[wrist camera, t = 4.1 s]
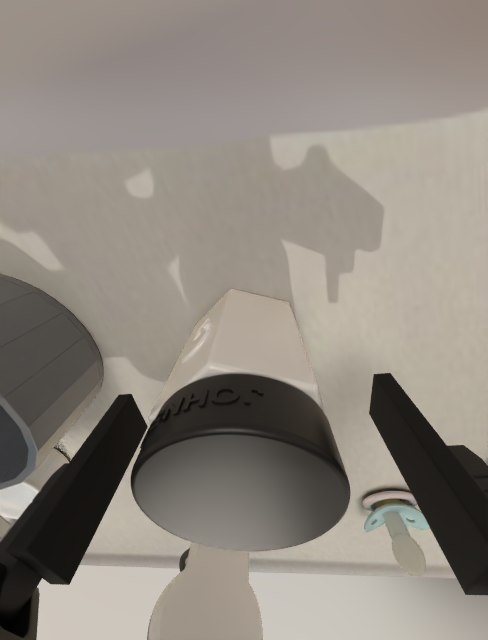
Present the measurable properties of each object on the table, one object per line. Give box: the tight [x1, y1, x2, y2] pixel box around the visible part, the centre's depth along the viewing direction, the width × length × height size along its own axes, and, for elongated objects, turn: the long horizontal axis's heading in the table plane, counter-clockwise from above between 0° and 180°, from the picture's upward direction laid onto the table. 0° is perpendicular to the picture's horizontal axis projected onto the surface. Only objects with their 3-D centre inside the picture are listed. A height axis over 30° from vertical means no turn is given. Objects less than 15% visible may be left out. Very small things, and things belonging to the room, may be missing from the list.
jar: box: [131, 289, 350, 551], centre depth 14 cm, size 9×8×12 cm
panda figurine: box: [147, 542, 263, 640], centre depth 26 cm, size 12×11×15 cm
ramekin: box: [0, 448, 69, 519], centre depth 26 cm, size 9×9×4 cm
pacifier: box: [363, 491, 430, 576], centre depth 26 cm, size 7×6×6 cm
